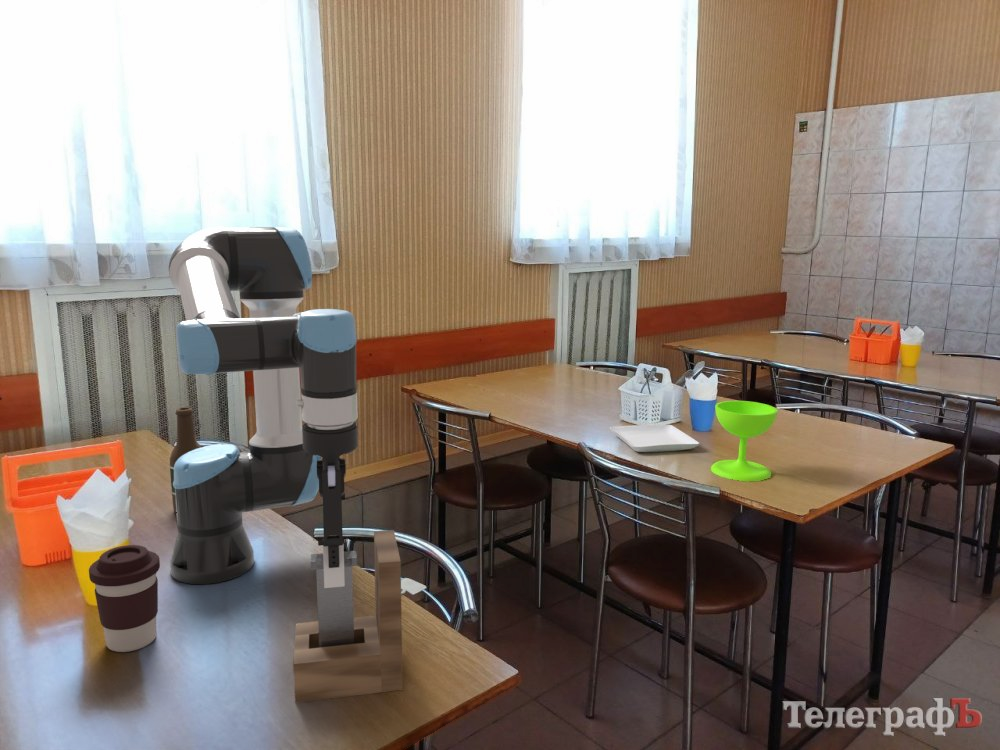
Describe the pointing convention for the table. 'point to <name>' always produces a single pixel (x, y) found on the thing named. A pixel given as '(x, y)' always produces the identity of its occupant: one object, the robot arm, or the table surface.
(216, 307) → the robot arm
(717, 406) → the wineglass
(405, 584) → the mounting bracket
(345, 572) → the rail
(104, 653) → the table surface
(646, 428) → the salad plate
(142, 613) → the coffee cup
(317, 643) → the slotted wooden l-bracket
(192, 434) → the beer bottle
